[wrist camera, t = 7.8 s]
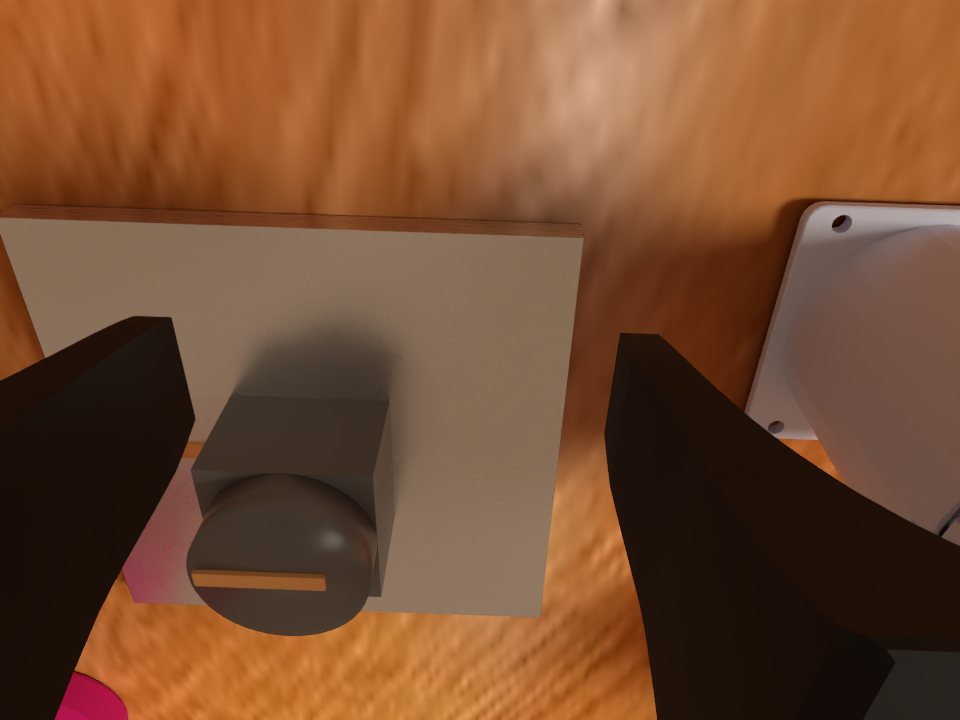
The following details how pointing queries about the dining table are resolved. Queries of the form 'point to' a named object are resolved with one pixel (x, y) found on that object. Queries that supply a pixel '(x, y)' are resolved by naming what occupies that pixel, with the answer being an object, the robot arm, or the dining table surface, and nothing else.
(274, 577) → the knob
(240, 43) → the dining table surface
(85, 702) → the pepper mill
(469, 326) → the flat square panel
